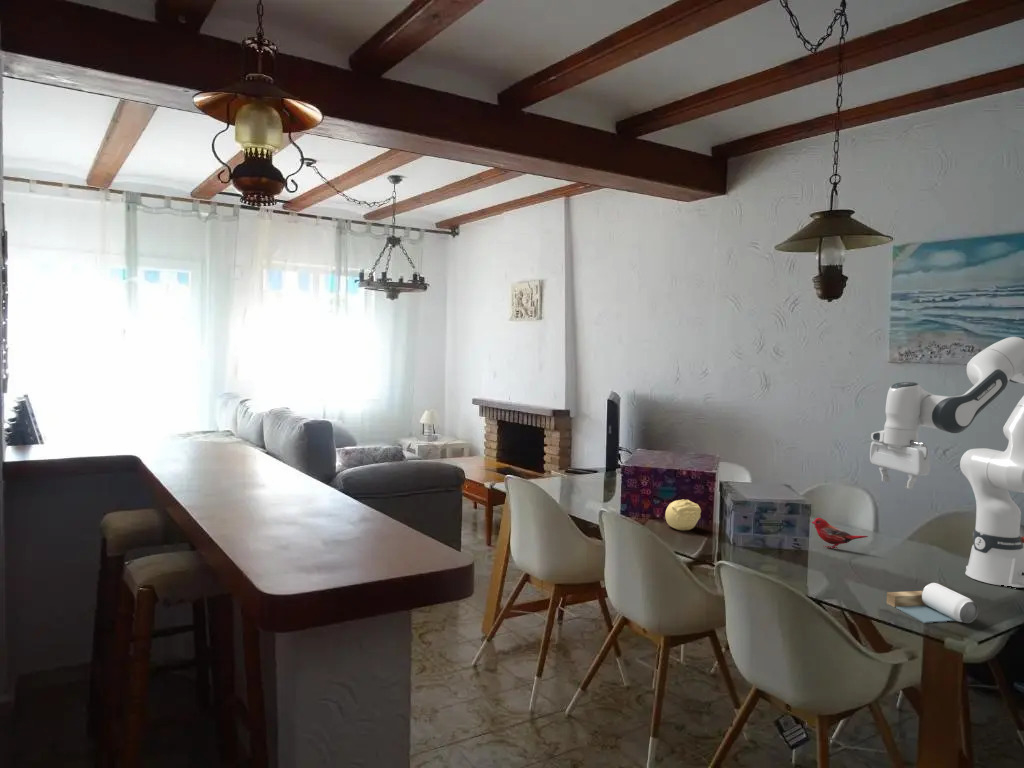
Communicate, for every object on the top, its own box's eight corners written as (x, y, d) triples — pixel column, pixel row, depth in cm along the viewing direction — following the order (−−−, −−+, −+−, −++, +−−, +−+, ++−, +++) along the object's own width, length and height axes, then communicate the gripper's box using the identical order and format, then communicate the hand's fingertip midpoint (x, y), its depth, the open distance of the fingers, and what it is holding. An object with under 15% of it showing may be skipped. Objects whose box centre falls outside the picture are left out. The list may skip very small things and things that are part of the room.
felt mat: (934, 606, 193) (934, 604, 193) (965, 621, 183) (965, 619, 183) (895, 608, 191) (895, 606, 191) (924, 623, 181) (924, 621, 181)
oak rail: (937, 600, 197) (938, 590, 197) (945, 604, 194) (946, 594, 194) (886, 603, 194) (887, 592, 194) (894, 607, 191) (895, 596, 191)
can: (943, 583, 193) (982, 601, 181) (936, 606, 193) (975, 626, 182) (924, 580, 191) (962, 598, 179) (917, 603, 191) (955, 623, 180)
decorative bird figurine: (810, 544, 249) (812, 515, 248) (867, 553, 240) (869, 524, 239) (809, 545, 247) (811, 517, 246) (866, 555, 238) (868, 525, 237)
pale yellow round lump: (677, 533, 256) (679, 503, 255) (658, 525, 267) (660, 496, 267) (704, 531, 260) (706, 502, 260) (684, 523, 272) (686, 494, 271)
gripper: (937, 443, 198) (934, 493, 199) (885, 433, 218) (882, 478, 219) (918, 443, 197) (914, 493, 198) (867, 433, 217) (864, 478, 218)
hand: (897, 485), depth 209 cm, fingers open, 8 cm apart
